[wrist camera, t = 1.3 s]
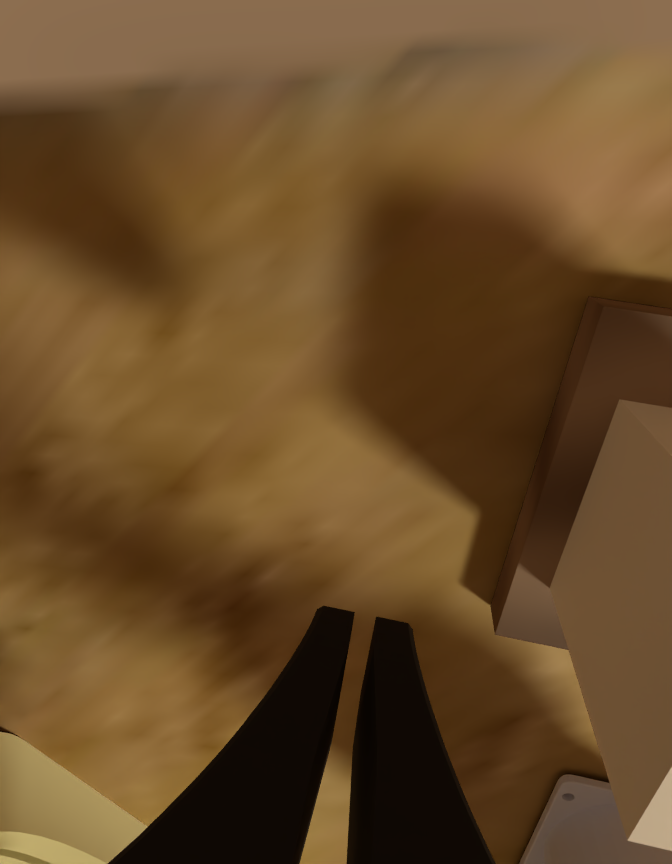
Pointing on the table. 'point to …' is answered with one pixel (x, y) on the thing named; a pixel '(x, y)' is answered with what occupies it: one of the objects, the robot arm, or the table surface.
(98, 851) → the slatted curved stool
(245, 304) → the table surface
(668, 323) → the brown flat slab
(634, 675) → the carton
